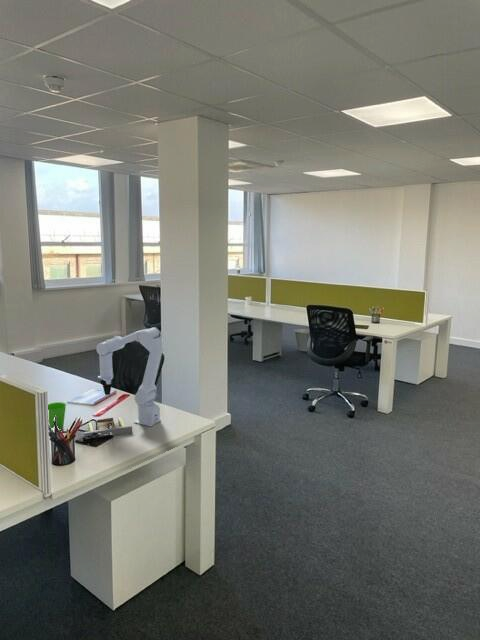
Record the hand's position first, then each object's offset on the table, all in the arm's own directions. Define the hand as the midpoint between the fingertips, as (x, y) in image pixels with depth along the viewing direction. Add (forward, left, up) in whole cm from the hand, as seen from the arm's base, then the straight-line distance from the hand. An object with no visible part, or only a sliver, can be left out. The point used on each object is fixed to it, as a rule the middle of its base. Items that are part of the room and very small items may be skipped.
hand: (107, 394), depth 225 cm
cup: (+9, +23, -11) cm, 27 cm away
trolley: (-11, +14, -10) cm, 21 cm away
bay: (-11, +14, -10) cm, 20 cm away
